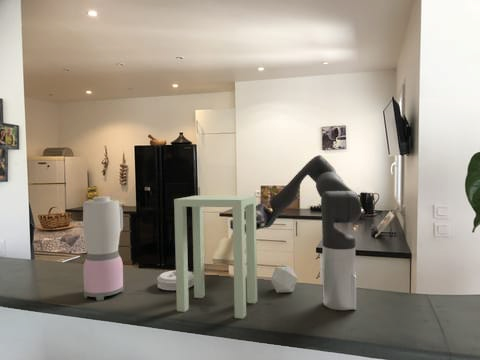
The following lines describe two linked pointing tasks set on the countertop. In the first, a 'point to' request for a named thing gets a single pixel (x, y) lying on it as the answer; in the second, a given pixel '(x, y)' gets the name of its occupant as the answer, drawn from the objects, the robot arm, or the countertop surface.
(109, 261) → the blender
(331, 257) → the robot arm
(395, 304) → the countertop surface
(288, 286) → the die
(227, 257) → the cheese board
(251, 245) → the mint green side table
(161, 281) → the lid
